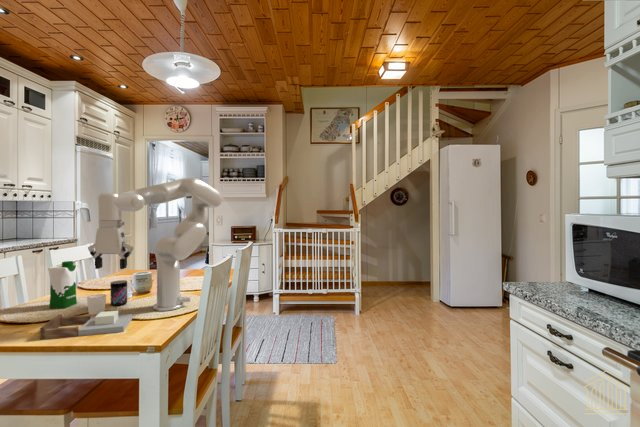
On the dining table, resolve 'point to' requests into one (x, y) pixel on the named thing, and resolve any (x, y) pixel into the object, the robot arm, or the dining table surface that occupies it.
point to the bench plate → (105, 326)
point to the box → (53, 325)
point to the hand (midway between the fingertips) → (111, 268)
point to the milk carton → (63, 285)
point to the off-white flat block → (106, 318)
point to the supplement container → (118, 292)
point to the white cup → (96, 303)
